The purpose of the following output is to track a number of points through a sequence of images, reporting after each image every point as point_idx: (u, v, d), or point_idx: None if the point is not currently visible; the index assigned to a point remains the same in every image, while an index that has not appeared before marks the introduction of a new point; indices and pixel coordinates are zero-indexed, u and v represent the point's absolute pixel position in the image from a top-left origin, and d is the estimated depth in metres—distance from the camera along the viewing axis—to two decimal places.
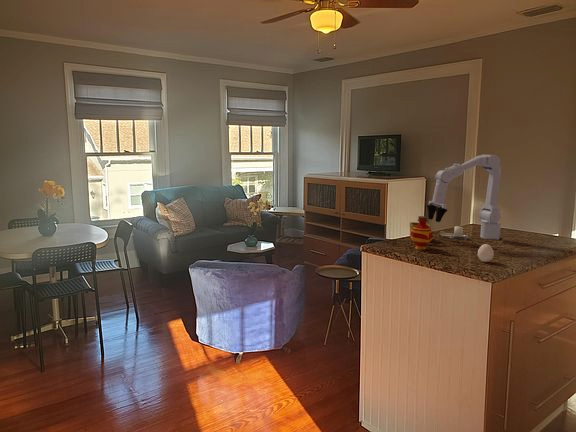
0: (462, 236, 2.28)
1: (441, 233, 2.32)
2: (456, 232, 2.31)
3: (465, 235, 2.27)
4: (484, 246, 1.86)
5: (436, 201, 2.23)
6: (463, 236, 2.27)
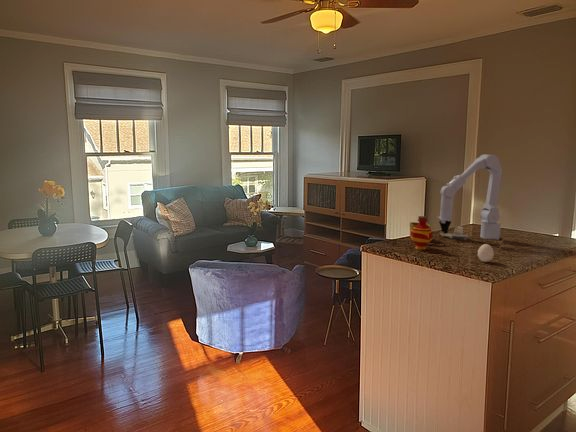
0: (462, 236, 2.28)
1: (441, 233, 2.32)
2: (456, 232, 2.31)
3: (465, 235, 2.27)
4: (484, 246, 1.86)
5: (441, 216, 2.32)
6: (463, 236, 2.27)
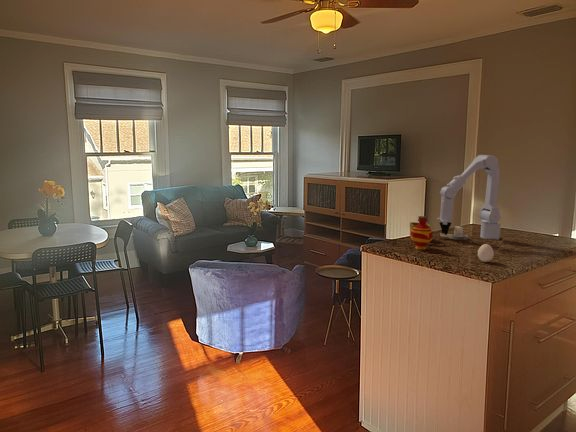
0: (463, 236, 2.27)
1: (442, 235, 2.28)
2: (456, 232, 2.31)
3: (466, 235, 2.27)
4: (484, 246, 1.86)
5: (441, 217, 2.27)
6: (464, 236, 2.27)
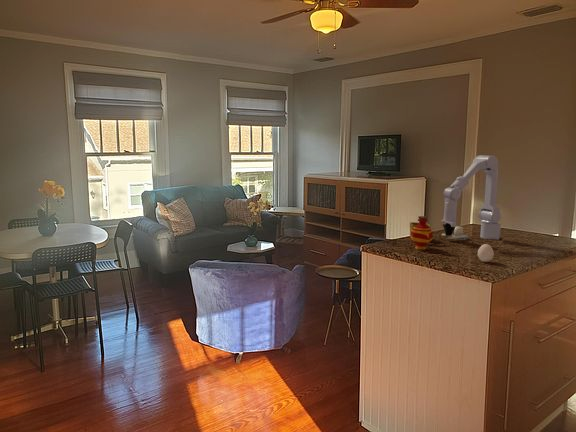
0: None
1: (449, 237, 2.22)
2: (456, 232, 2.31)
3: (467, 235, 2.27)
4: (484, 246, 1.86)
5: (446, 219, 2.22)
6: (465, 236, 2.27)
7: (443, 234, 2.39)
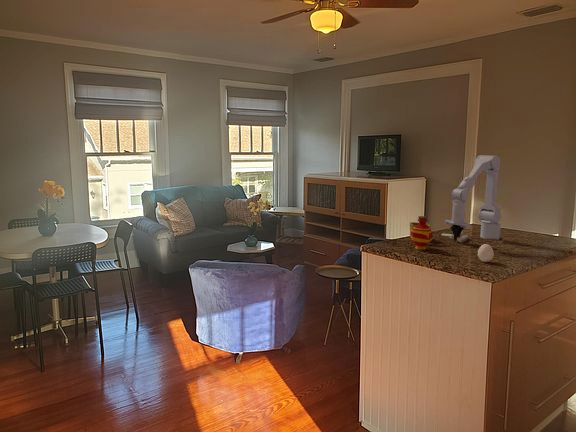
0: None
1: (460, 239, 2.18)
2: None
3: (467, 235, 2.27)
4: (484, 246, 1.86)
5: (458, 221, 2.17)
6: (466, 236, 2.27)
7: (443, 234, 2.39)
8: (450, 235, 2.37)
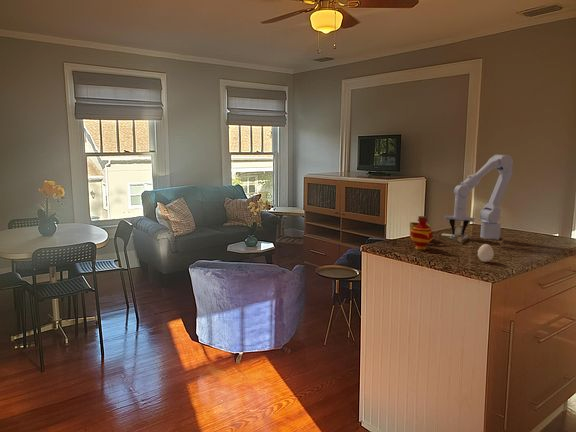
0: None
1: (461, 239, 2.18)
2: (456, 232, 2.31)
3: (467, 235, 2.27)
4: (484, 246, 1.86)
5: None
6: (466, 236, 2.27)
7: (443, 234, 2.39)
8: (450, 235, 2.37)
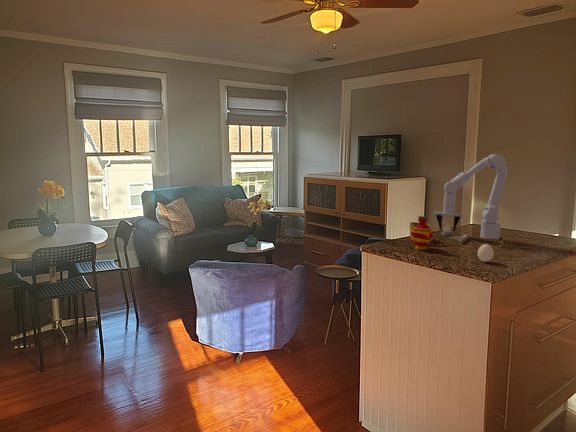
0: None
1: (461, 239, 2.18)
2: (445, 229, 2.36)
3: (467, 235, 2.27)
4: (484, 246, 1.86)
5: None
6: (466, 236, 2.27)
7: None
8: None
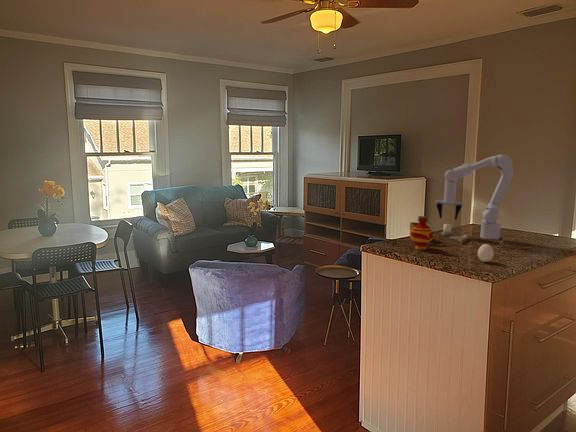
0: None
1: (461, 239, 2.18)
2: (445, 229, 2.36)
3: (467, 235, 2.27)
4: (484, 246, 1.86)
5: None
6: (466, 236, 2.27)
7: None
8: None
